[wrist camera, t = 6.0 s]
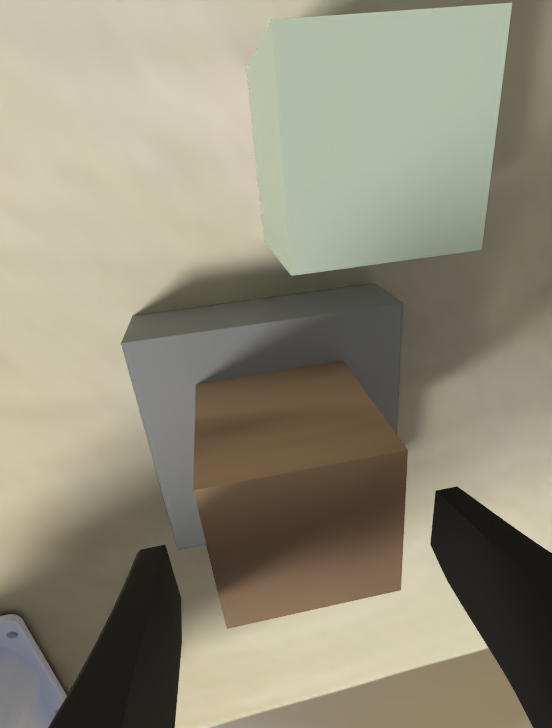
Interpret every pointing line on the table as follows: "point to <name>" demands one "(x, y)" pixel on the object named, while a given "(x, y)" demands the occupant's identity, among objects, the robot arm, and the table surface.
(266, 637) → the table surface
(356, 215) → the sage green cube
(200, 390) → the walnut cube
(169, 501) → the charcoal base block
